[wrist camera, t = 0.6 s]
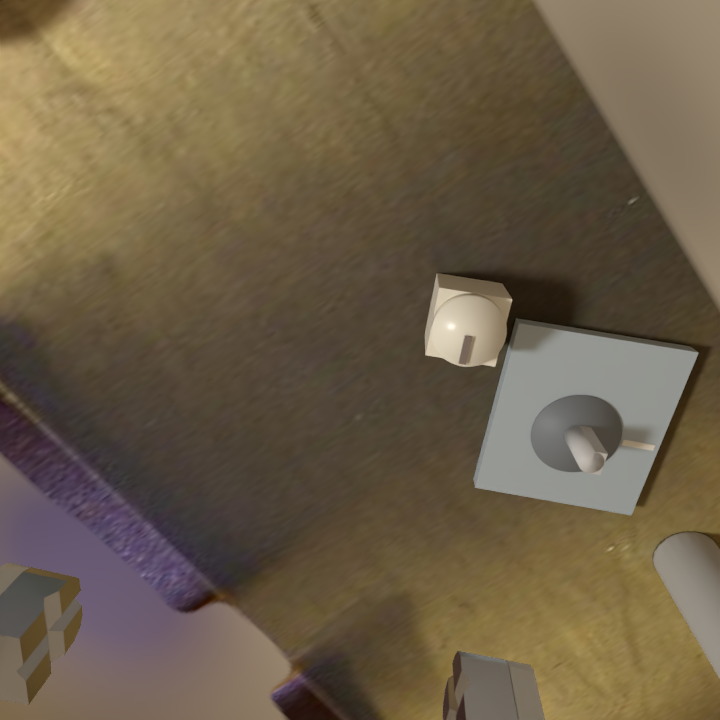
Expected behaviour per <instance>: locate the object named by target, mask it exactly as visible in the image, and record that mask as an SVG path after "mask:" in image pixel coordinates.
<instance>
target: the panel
mask: <svg viewBox="0 0 720 720" xmlns="http://www.w3.org/2000/svg"><path fill="white" fill-rule="evenodd" d="M698 353H699V352H697V351H696V350H694V349H693V348H692V347H690V346H684V345H678V344H672V343H666V342H660V341H654V340H647V339H641V338H635V337H629V336H623V335H617V334H610V333H604V332H598V331H592V330H586V329H580V328H573V327H567V326H561V325H555V324H549V323H543V322H536V321H530V320H524V319H518V318H516V320H515V323H514V327H513V331H512V335H511V339H510V342H509V346H508V350H507V354H506V358H505V361H504V365H503V369H502V373H501V377H500V380H499V384H498V388H497V392H496V395H495V399H494V403H493V407H492V411H491V414H490V418H489V422H488V426H487V430H486V433H485V437H484V441H483V445H482V449H481V452H480V456H479V460H478V464H477V467H476V471H475V475H474V484H475V488H480V489H486V490H491V491H497V492H503V493H508V494H514V495H519V496H525V497H531V498H536V499H542V500H548V501H553V502H559V503H565V504H570V505H576V506H582V507H587V508H593V509H599V510H604V511H610V512H616V513H621V514H627V515H632V512H633V510H634V508H635V505H636V503H637V500H638V498H639V496H640V493H641V491H642V488H643V486H644V484H645V481H646V479H647V476H648V474H649V471H650V469H651V467H652V464H653V462H654V459H655V457H656V455H657V452H658V450H659V447H660V445H661V443H662V440H663V438H664V435H665V433H666V430H667V428H668V426H669V423H670V421H671V418H672V416H673V414H674V411H675V409H676V406H677V404H678V402H679V399H680V397H681V394H682V392H683V389H684V387H685V385H686V382H687V380H688V377H689V375H690V373H691V370H692V368H693V365H694V363H695V361H696V358H697V356H698Z"/></svg>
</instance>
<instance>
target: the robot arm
mask: <svg viewBox="0 0 720 720" xmlns="http://www.w3.org/2000/svg"><path fill="white" fill-rule="evenodd" d="M80 591H81V589H80V581H79V578H76V577H72V576H68V575H63V574H59V573H54V572H50V571H45V570H41V569H36V568H32V567H27V566H22V565H17V564H13V563H7V564H5V565H3V566H1V567H0V700H5V701H11V702H17V703H22V704H30V702H31V701H32V699H33V698H34V697H35V695H36V694H37V692H38V691H39V690H40V688H41V687H42V686H43V684H44V683H45V681H46V680H47V679H48V677H49V676H50V674H51V662H52V661H54V660H55V659H57V658H59V657H60V656H62V655H63V654H65V653H66V652H67V650H68V649H69V647H70V646H71V644H72V643H73V641H74V639H75V637H76V635H77V633H78V630H79V628H80V625H81V620H82V606H81V604H80V603H79V602H78V601H77V599H76V598H75V597H76V596H77V595H78V593H79V592H80ZM452 664H453V676H451V677H449V678H448V680H447V684H446V688H445V693H444V701H443V720H545V718H544V713H543V709H542V705H541V700H540V696H539V692H538V687H537V683H536V679H535V674H534V670H533V669H532V667H531V665H528V664H523V663H518V662H512V661H507V660H504V659H499V658H493V657H488V656H482V655H477V654H471V653H466V652H460V651H458V652H457V653H456V654H455V657H454V660H453V663H452Z"/></svg>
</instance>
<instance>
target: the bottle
mask: <svg viewBox="0 0 720 720" xmlns="http://www.w3.org/2000/svg"><path fill="white" fill-rule="evenodd" d="M653 564H654V567H655V569H656V570H657V572H658V574H659V575H660V577H661V579H662V581H663V583H664V584H665V586H666V588H667V590H668V591H669V593H670V595H671V597H672V598H673V600H674V602H675V603H676V605H677V607H678V609H679V610H680V612H681V614H682V615H683V617H684V619H685V621H686V622H687V624H688V626H689V627H690V629H691V631H692V632H693V634H694V636H695V638H696V639H697V641H698V643H699V644H700V646H701V648H702V650H703V651H704V653H705V655H706V656H707V658H708V660H709V661H710V663H711V665H712V667H713V668H714V670H715V672H716V673H717V675H718V677H719V679H720V549H719V547H718V546H717V545H716V543H715V542H714V541H713V540H712V539H711V538H710V537H708V536H706V535H704V534H702V533H698V532H681V533H677V534H674V535H671V536H669V537H667V538H666V539H664V540H663V541H662V542H660V544H659V545H658V546H657V547H656V549H655V551H654V553H653Z"/></svg>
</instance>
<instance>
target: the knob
mask: <svg viewBox="0 0 720 720" xmlns="http://www.w3.org/2000/svg"><path fill="white" fill-rule="evenodd" d="M511 303H512V298H511V296H510V295H509V293H508V292H507V290H506V289H505V287H504V285H503V284H502V283H496V282H490V281H484V280H478V279H471V278H465V277H459V276H453V275H446V274H440V273H437V275H436V280H435V285H434V290H433V295H432V300H431V305H430V310H429V315H428V320H427V326H426V331H425V354H426V355H428V356H434V357H440V358H444V359H445V360H447V361H448V362H450V363H452V364H455V365H458V366H464V367H472V366H477V365H481V364H482V365H488V366H494V367H495V365H496V361H497V357H498V354H499V351H500V350H501V348H502V347H503V345H504V343H505V340H506V335H507V326H506V322H507V319H508V315H509V311H510V307H511Z"/></svg>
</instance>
